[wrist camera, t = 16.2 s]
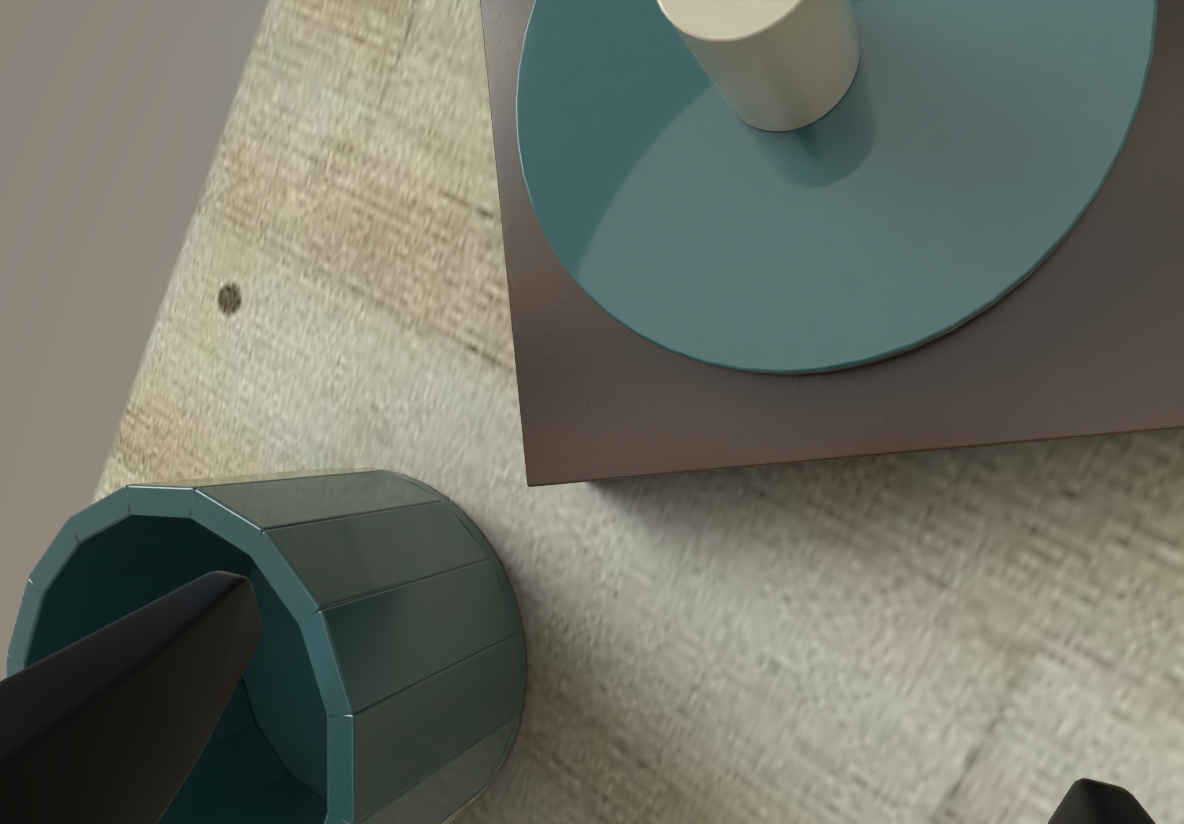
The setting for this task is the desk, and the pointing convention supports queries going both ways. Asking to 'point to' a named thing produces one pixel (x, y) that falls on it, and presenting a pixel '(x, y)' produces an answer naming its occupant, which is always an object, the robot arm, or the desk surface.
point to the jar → (312, 638)
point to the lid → (818, 161)
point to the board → (884, 388)
